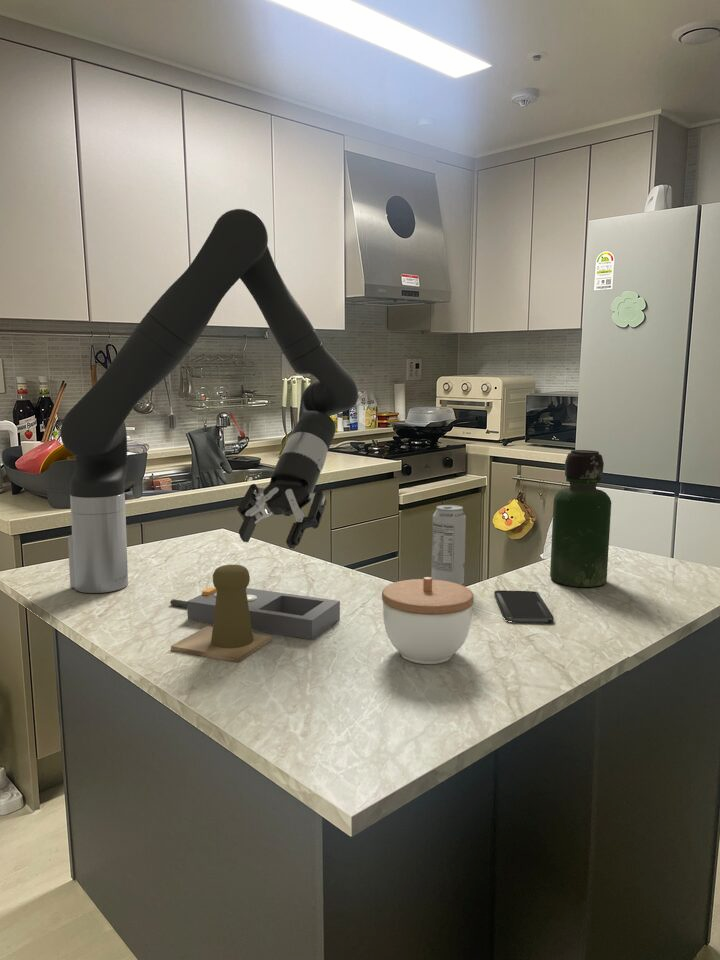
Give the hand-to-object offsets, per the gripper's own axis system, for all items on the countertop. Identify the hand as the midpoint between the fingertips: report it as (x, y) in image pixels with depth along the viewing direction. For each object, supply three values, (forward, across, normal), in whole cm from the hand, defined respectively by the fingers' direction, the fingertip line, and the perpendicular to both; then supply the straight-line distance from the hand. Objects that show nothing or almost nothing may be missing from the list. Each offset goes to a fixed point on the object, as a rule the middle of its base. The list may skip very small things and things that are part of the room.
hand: (266, 542), depth 114 cm
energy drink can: (-11, +23, +28) cm, 37 cm away
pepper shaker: (+18, +2, -1) cm, 18 cm away
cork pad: (+18, +1, -2) cm, 19 cm away
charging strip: (+10, -3, +7) cm, 12 cm away
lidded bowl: (+12, +29, +4) cm, 32 cm away
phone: (-6, +38, +23) cm, 45 cm away
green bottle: (-22, +45, +37) cm, 62 cm away
